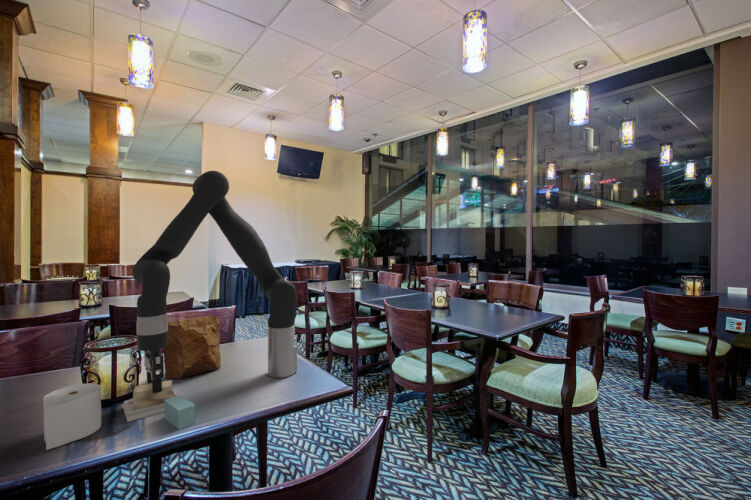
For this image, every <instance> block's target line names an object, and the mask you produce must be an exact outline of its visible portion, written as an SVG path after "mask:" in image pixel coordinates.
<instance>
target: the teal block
mask: <svg viewBox="0 0 751 500" xmlns="http://www.w3.org/2000/svg"><path fill="white" fill-rule="evenodd" d="M163 413H164V419H165V420H166V421H168V423H170V424H171V425H173V427H175V428H176V429H177V430H178V431H180V430H182V429H185V428H187V427H190V426H193V425H195V424H196V404H194V403H193V402H192V401H190V400H189V399H187V398H186V397H184V396H182V395H181V394H179V396H176V397H173V398H170V399H167V400H164V412H163Z"/></svg>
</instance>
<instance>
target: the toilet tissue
mask: <svg viewBox="0 0 751 500" xmlns="http://www.w3.org/2000/svg"><path fill="white" fill-rule="evenodd" d="M101 395H102V386H101V385H100V384H98V383H89V382H88V383H80V384H75V385H74V384H73V385H68V386H66V387H61V388H59V389H56V390H53V391H52V392H49V393H47V394H45V395H44V397H43V399H42V401H43V410H42V411H43V431H44V432H43V440H44V443H45V446H46V447H45V450H46V451H47V450H51V449H53V448H58V447H61V446H63V445H66V444H69V443H71V442H76V441H78V440H81V439H84V438H86V437H89V436H90V435H92V434H94V433H95V432H97V431H98V430H100V428H101V427H102V403H101V402H102V401H101V400H102V397H101Z"/></svg>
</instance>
